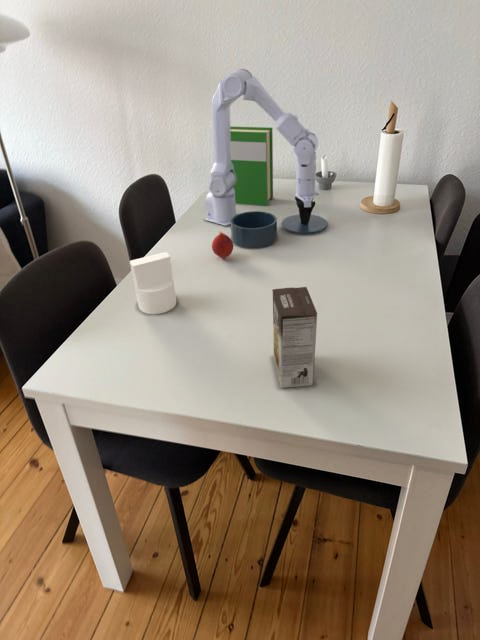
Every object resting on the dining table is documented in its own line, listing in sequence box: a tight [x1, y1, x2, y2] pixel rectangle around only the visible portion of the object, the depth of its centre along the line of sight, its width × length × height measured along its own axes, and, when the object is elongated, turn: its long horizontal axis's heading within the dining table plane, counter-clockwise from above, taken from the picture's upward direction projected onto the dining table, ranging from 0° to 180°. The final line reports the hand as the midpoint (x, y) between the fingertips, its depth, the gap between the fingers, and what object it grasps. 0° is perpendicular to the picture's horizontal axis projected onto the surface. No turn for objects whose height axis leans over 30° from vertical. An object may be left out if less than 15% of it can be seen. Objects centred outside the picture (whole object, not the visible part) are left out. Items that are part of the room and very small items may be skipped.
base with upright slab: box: [129, 251, 177, 315], centre depth 110 cm, size 9×9×12 cm
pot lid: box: [280, 214, 329, 235], centre depth 146 cm, size 14×14×5 cm
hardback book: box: [230, 125, 274, 207], centre depth 162 cm, size 18×7×24 cm, turn 70°
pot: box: [230, 210, 278, 250], centre depth 140 cm, size 13×13×6 cm
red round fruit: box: [211, 231, 234, 260], centre depth 129 cm, size 6×6×8 cm
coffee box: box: [272, 286, 318, 389], centre depth 86 cm, size 9×6×16 cm
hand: (304, 221), depth 146 cm, fingers closed on pot lid, 2 cm apart
